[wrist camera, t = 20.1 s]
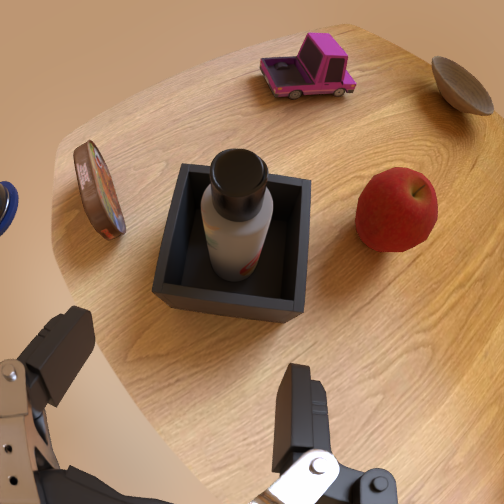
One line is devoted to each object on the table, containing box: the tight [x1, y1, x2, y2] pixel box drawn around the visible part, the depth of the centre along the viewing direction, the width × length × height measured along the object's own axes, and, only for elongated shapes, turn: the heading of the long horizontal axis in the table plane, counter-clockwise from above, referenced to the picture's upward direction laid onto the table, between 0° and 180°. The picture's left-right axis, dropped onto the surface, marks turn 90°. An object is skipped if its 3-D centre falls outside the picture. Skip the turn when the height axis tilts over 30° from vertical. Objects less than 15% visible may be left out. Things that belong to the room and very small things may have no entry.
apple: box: [355, 167, 438, 252], centre depth 35 cm, size 10×10×14 cm
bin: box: [152, 163, 311, 323], centre depth 34 cm, size 14×14×10 cm
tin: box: [73, 140, 126, 240], centre depth 36 cm, size 15×3×8 cm, turn 26°
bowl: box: [432, 56, 494, 116], centre depth 51 cm, size 18×18×8 cm
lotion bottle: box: [201, 149, 273, 282], centre depth 28 cm, size 6×6×20 cm
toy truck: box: [260, 33, 356, 99], centre depth 46 cm, size 11×16×10 cm
